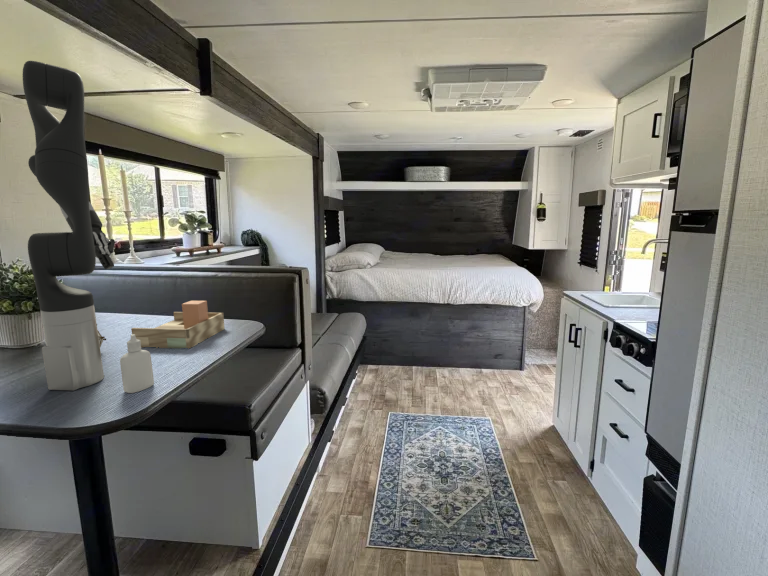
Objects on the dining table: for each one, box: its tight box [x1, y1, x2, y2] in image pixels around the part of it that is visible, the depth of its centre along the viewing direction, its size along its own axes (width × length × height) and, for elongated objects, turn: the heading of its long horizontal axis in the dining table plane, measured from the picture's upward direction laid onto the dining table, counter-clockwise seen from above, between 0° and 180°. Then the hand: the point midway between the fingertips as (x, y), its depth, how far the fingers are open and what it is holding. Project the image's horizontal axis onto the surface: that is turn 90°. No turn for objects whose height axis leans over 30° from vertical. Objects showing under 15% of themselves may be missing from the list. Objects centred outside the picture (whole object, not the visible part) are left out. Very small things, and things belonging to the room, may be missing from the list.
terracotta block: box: [181, 300, 209, 329], centre depth 121 cm, size 5×5×8 cm
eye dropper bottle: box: [119, 334, 155, 394], centre depth 85 cm, size 4×6×12 cm
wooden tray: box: [131, 311, 225, 350], centre depth 122 cm, size 20×17×6 cm
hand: (109, 267), depth 117 cm, fingers closed
